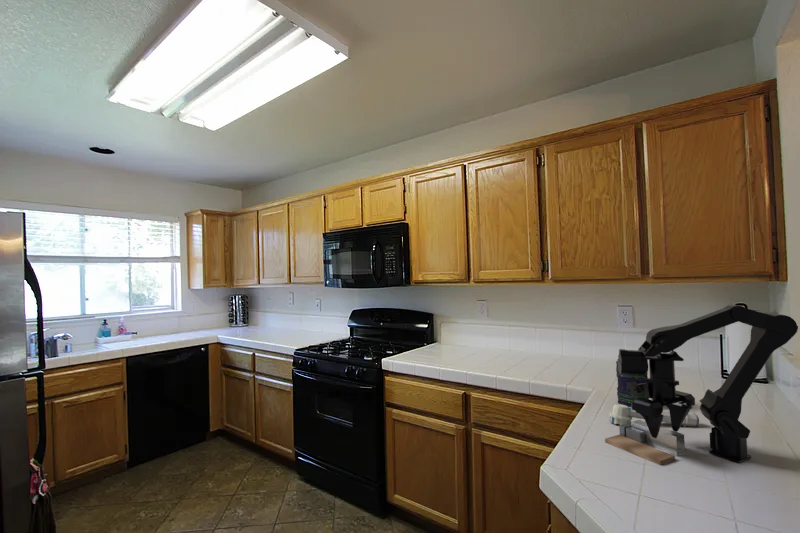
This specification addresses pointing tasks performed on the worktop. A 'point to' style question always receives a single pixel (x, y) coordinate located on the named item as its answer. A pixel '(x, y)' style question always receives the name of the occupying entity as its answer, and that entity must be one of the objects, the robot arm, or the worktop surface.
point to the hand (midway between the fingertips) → (664, 434)
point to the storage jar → (622, 392)
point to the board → (640, 449)
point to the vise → (632, 433)
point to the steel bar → (662, 438)
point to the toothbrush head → (626, 413)
